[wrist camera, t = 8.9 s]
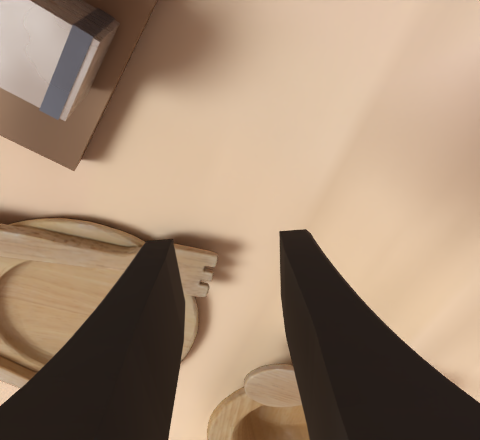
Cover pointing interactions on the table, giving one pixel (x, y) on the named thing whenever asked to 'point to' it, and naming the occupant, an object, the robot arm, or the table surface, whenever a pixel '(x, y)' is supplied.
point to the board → (91, 107)
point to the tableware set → (90, 296)
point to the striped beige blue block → (52, 51)
